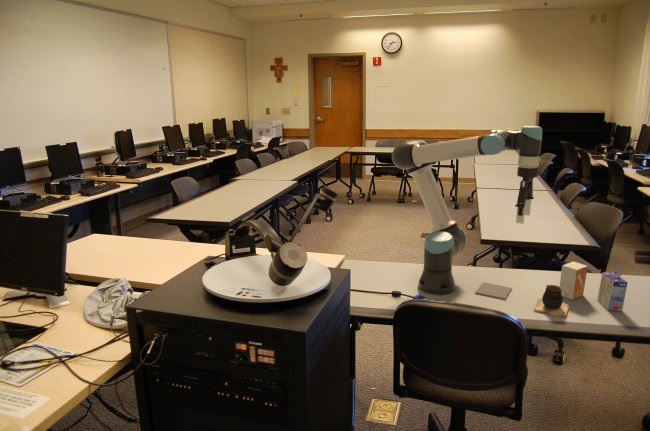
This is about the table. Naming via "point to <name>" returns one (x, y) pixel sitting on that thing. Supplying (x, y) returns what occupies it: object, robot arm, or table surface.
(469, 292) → the table surface
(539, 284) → the table surface
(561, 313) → the square wooden coaster
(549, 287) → the mate gourd
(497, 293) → the felt pad
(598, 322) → the table surface
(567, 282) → the small box
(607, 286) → the ink cartridge box
